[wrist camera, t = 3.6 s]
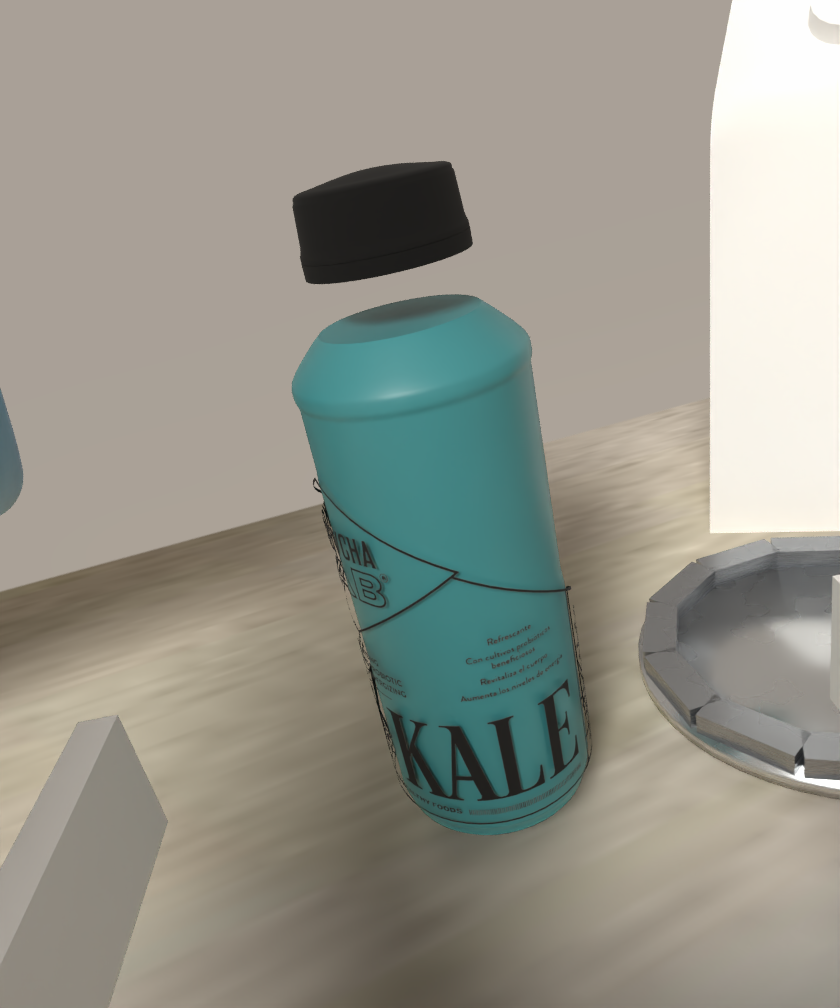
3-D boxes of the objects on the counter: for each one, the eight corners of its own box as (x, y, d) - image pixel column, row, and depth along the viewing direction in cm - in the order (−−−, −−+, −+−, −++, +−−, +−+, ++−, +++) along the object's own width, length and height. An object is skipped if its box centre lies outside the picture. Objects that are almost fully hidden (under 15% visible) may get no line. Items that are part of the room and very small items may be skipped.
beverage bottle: (495, 705, 31) (381, 161, 22) (642, 780, 26) (567, 124, 18) (370, 812, 27) (178, 211, 19) (514, 921, 22) (343, 181, 14)
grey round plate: (626, 783, 26) (623, 754, 25) (648, 561, 38) (646, 538, 37) (1163, 825, 21) (1173, 790, 20) (997, 555, 33) (1000, 527, 32)
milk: (942, 427, 44) (988, -146, 33) (1001, 528, 34) (1094, -229, 24) (713, 440, 48) (687, -59, 38) (709, 533, 39) (674, -99, 28)
